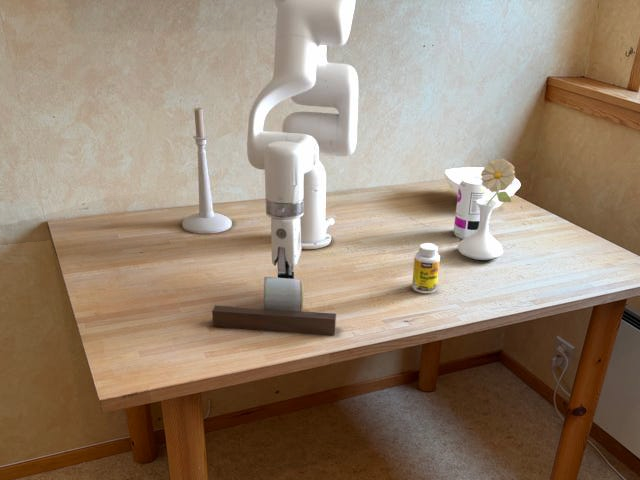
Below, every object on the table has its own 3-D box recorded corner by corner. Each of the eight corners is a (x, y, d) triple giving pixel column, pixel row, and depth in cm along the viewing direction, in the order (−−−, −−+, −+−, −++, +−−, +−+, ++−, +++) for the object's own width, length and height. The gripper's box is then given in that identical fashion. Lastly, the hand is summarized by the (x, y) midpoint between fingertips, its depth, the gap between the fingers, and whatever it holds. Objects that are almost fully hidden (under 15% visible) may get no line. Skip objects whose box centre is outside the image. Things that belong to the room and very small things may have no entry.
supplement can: (449, 237, 183) (456, 182, 175) (458, 228, 189) (464, 174, 182) (479, 243, 180) (487, 187, 173) (487, 233, 187) (494, 178, 179)
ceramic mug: (304, 320, 139) (304, 285, 135) (263, 321, 138) (262, 286, 134) (301, 298, 148) (301, 264, 144) (263, 298, 147) (262, 265, 143)
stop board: (216, 320, 137) (215, 305, 136) (335, 329, 137) (336, 313, 135) (213, 326, 135) (212, 311, 133) (334, 335, 135) (335, 319, 133)
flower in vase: (447, 252, 174) (458, 152, 161) (479, 243, 180) (492, 146, 167) (484, 270, 165) (499, 166, 152) (516, 260, 172) (533, 160, 159)
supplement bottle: (415, 295, 152) (419, 251, 147) (409, 284, 156) (412, 242, 151) (439, 293, 153) (444, 250, 148) (432, 283, 158) (436, 241, 152)
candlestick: (172, 224, 182) (160, 105, 166) (211, 213, 190) (203, 99, 175) (202, 237, 175) (192, 115, 159) (241, 225, 183) (235, 108, 168)
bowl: (434, 195, 213) (437, 167, 209) (496, 193, 218) (500, 166, 214) (457, 218, 196) (461, 188, 192) (524, 215, 201) (529, 186, 197)
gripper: (298, 220, 131) (298, 306, 140) (308, 196, 143) (307, 276, 153) (259, 218, 131) (262, 304, 140) (272, 194, 144) (274, 274, 153)
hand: (286, 289), depth 147 cm, fingers closed
